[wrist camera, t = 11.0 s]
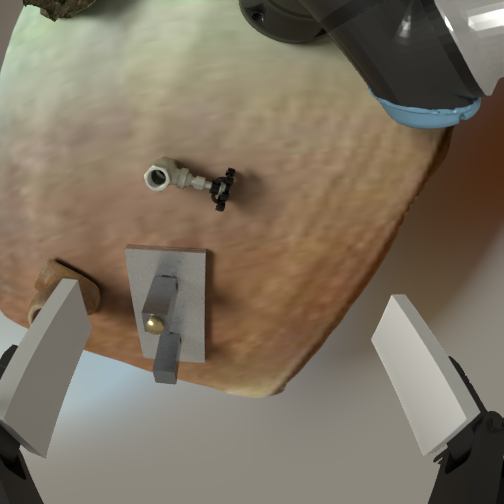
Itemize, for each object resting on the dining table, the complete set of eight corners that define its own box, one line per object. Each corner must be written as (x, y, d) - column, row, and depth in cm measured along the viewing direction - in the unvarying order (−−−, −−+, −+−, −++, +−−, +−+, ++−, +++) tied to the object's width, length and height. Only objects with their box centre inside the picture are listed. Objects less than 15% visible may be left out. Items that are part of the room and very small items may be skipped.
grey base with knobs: (206, 248, 49) (200, 289, 39) (204, 357, 62) (203, 399, 52) (127, 244, 47) (105, 282, 37) (145, 352, 61) (135, 392, 51)
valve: (149, 184, 43) (222, 203, 45) (137, 198, 37) (221, 220, 40) (159, 144, 40) (235, 164, 42) (147, 151, 34) (236, 175, 37)
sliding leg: (176, 277, 49) (166, 319, 40) (177, 296, 51) (168, 338, 42) (154, 276, 49) (139, 317, 39) (155, 294, 50) (143, 336, 41)
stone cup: (110, 277, 50) (82, 332, 37) (95, 315, 55) (71, 368, 42) (47, 240, 45) (6, 284, 32) (39, 282, 50) (6, 327, 37)
